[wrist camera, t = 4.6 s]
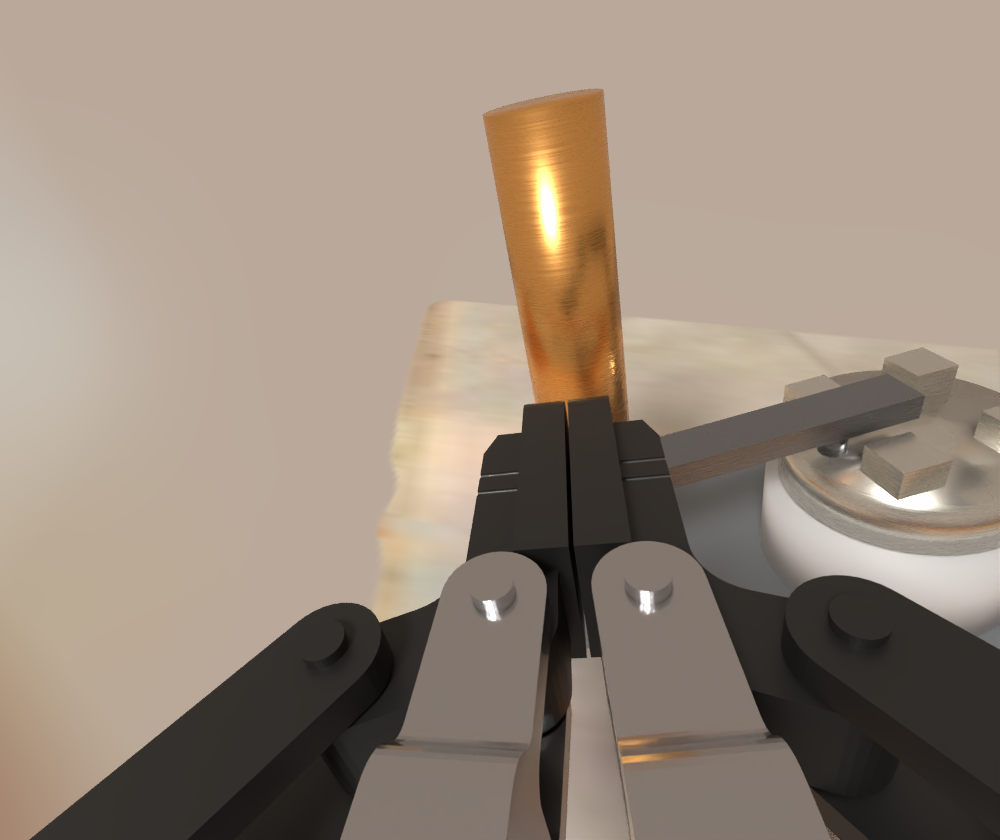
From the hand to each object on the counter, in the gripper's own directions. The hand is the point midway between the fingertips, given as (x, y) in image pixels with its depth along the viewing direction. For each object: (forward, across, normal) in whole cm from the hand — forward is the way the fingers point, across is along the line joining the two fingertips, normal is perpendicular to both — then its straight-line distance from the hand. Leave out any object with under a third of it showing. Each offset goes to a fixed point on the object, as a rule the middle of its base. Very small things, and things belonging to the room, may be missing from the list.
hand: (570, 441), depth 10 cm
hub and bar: (+10, -8, +12) cm, 17 cm away
